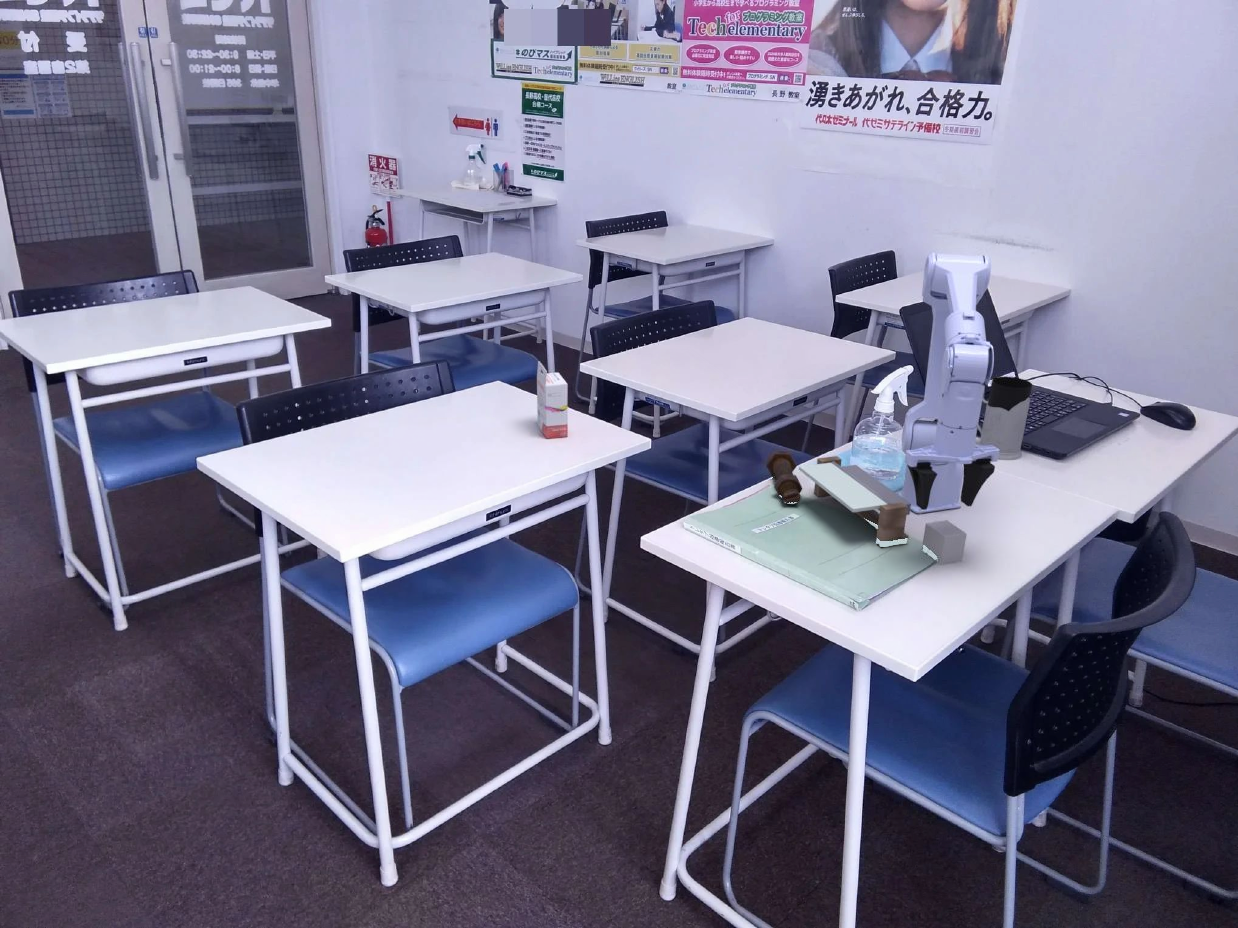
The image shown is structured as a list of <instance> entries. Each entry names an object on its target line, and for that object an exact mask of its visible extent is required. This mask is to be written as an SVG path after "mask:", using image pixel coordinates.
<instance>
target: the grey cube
mask: <svg viewBox="0 0 1238 928" xmlns="http://www.w3.org/2000/svg"><path fill="white" fill-rule="evenodd" d="M967 535H968V534H967V533H966V532H965V531H963V530H962V529H961V528H959V527H958V526H956V525H954V524H953V523H952V522H950V521H949V520H947V519H946V520H941V521H940V520H939V521H933V522H926V523H925V527H924V532H923V539H922V544H923V545H925V546H926V547H927V548H928V549H929V550H931V551H932V552H933V553H934V554H935V555H936V556H937V558H938V562H936V563H937V564H938V565H940V566H944V565H950V564H955V563H956V564H957V563H960V562H961V563H962V561H963V558H964V557H963V555H964V550H965V545H966V540H967Z"/></svg>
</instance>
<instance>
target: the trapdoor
mask: <svg viewBox="0 0 1238 928" xmlns="http://www.w3.org/2000/svg"><path fill="white" fill-rule="evenodd" d="M798 471H800V473H803V475H805V476H806V477H807V478H808V479H810V480H811V481H812V482H813V483H814V484H815V483H816V484H818V485H819V486H820V487H821V488H823V489H824V490H825V491H826V492H828V493H829V494H830V496H831V497H832V498H834V499H835V500H837V502H839V503H840V504H841V505H843V506H844V507H845V508H847V509H848V510H849V511H850V512H852V513H855V512H860V511H867V510H878V511H879V512H880V508H881V505H887V504H894V503H901V502H902V503H904V504H905V505H906V506H908V509H907V515H906V516H910V514H911V509H910V508H911V503H909V502H908V501H906V500H905V499H904V498H902V497H901V496H899V495H898V494H897V492H895V491H894V490H892V489H891V488H889V487H888V486H887V485H886V484H884V483H882V482H881V481H879V479H877V478H875V477H874V476H873V475H871V474H870V473H869V472H867V471H866V470H865V469H863V468H862V467H860V466H858V465H857V464H852V465H845V466H842V465H841V466H840V465H838V464H837V463H836V462H834V461H833V462H831V463H824V464H817V463H816V464H809V465H802V466H798Z"/></svg>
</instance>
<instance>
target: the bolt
mask: <svg viewBox="0 0 1238 928" xmlns="http://www.w3.org/2000/svg"><path fill="white" fill-rule="evenodd" d="M765 466H766V469H767V470H768V472H769V474H770V475H771V477H772V478H775V479H776V482H775V483H774V485H773V486H774V489H775V491H776V494H777V495H778V496H779V495H781V496H782V499H781V500H782V501H783V503H784V502H786V503H789V502H790V503H791V502H793V503H794V502H798V503H799V502H800V501H801V499H802V498H801V493H802V490H803V486H802V484H801V482H800V481H799V479H798V476H797V475H795V474H794V473H793V472H794V471H795V469H796V468H797V467H798V466H797V464H796V461H795V459H794V457H793V456H792V454H791V452H790V451H787V450H775V451H773V452H772V453H771V454H770V455H769V457H768V458H767V459H766V461H765Z"/></svg>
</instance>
